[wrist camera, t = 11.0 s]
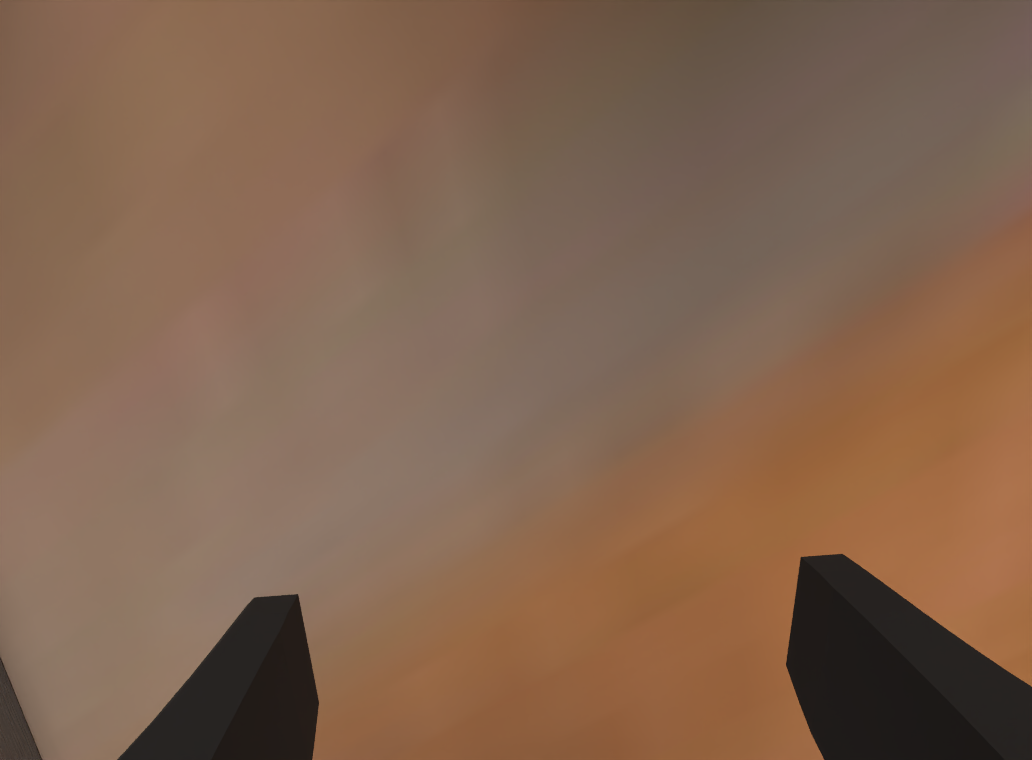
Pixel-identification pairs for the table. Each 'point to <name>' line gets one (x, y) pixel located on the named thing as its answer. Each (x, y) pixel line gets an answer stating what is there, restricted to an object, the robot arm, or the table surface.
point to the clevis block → (13, 726)
